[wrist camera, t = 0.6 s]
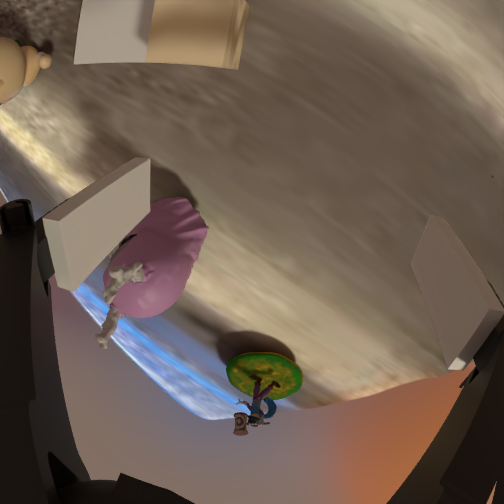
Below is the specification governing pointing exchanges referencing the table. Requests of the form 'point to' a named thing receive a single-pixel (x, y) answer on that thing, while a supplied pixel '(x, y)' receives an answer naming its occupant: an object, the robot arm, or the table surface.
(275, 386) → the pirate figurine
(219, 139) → the table surface
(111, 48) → the grey tile
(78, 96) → the table surface
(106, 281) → the toy character
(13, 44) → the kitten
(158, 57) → the maple brick
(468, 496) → the robot arm
